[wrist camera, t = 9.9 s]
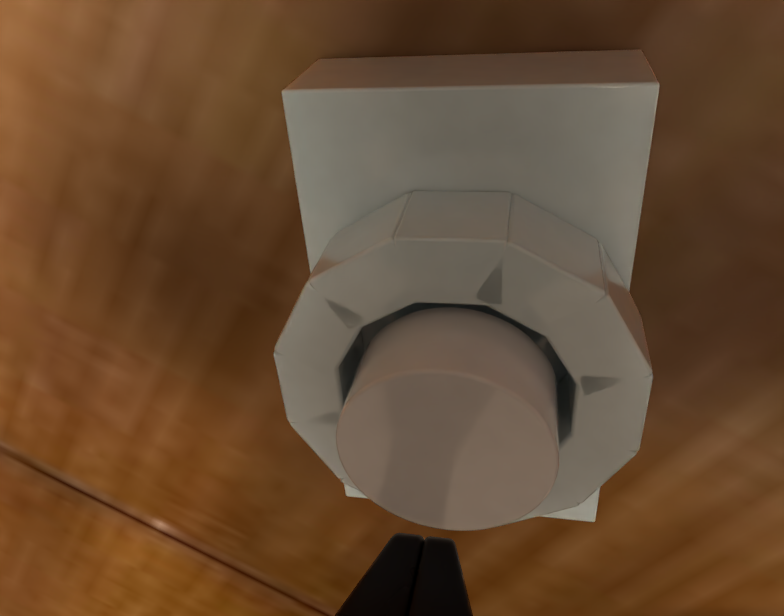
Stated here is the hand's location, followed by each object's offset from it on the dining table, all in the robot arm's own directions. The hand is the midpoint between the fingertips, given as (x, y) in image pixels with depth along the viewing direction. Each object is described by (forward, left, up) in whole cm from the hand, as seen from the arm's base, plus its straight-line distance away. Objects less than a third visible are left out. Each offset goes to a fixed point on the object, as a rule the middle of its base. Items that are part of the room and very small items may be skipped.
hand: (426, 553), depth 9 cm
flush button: (0, 0, -3) cm, 3 cm away
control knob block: (0, 0, -7) cm, 7 cm away
